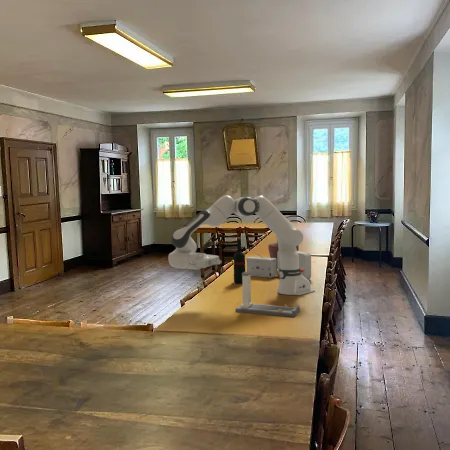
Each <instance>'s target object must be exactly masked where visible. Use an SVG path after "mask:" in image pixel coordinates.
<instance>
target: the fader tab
mask: <svg viewBox="0 0 450 450" xmlns="http://www.w3.org/2000/svg"><path fill="white" fill-rule="evenodd" d="M251 277H252V276H251V272H247V271H245V272H243V273H242V284H241V285H242V303H241V304H242V305H241V304H240V305H241V307H244V308H249V307H250V306H251V305H253V304H254V303H253V301H252V289H251V288H252V286H251V284H252V283H251V282H252V281H251V279H252V278H251Z"/></svg>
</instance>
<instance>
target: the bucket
mask: <svg viewBox="0 0 450 450" xmlns="http://www.w3.org/2000/svg"><path fill="white" fill-rule="evenodd" d="M299 247H300V245H298V246H296V249H297V251H299V249H300V248H299ZM278 250H279V248H278V242H277V241H276V242H275V243H274V242H273V243H270V244H268V253H269V258H276V260H277V253H278ZM277 269H278V266H277Z"/></svg>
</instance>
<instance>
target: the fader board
mask: <svg viewBox="0 0 450 450" xmlns="http://www.w3.org/2000/svg"><path fill="white" fill-rule="evenodd" d="M242 304H243V303H241V304H240V305H239V306H237V307H236V308H235V312H237V313H247V314H256V313H258V314H260V315H267V314H269V315H270V316H278V315H280V317H291V318H295V316H297V314H298V313H299V312H300V311H301V308H300V305H296V306H288V304H286V303H284V305H272V304H260V303H253V305H251V306H250V307H249V308H244V307H241V305H242ZM258 314H257V315H258ZM269 315H268V316H269Z"/></svg>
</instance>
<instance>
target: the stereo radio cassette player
mask: <svg viewBox="0 0 450 450" xmlns="http://www.w3.org/2000/svg"><path fill="white" fill-rule="evenodd" d="M247 249H248V250H250V251H251V252H253V253H254V254H256V255H257V256H248V257H245V261H246V272H251V277H257V276H259V278H267V277H268V278H269V279H272V278H275V277H276V276H277V274H278V270H277V260H276V258H270V257H263V256H262V255H261V254H258V253H257V252H256V251H254V250H251V249H250V248H249V247H248V248H247Z"/></svg>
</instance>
